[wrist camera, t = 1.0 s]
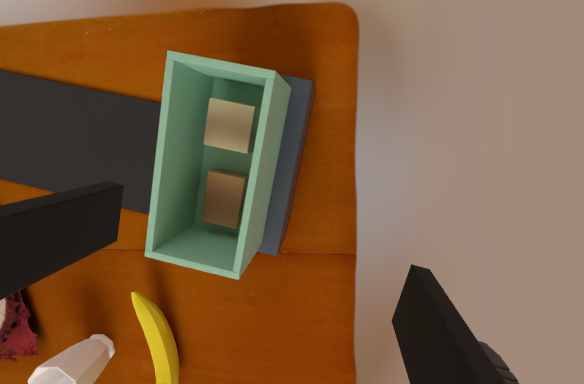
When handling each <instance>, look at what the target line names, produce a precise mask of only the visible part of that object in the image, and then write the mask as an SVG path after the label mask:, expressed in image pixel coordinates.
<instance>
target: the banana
mask: <svg viewBox="0 0 584 384" xmlns="http://www.w3.org/2000/svg"><path fill="white" fill-rule="evenodd" d="M131 294H132V302H133V305H134V308H135V311H136V314H137V316H138V319H139V321H140V324H141V326H142V328H143V331H144V334H145V336H146V339H147V342H148V345H149V348H150V352H151V355H152V359H153V363H154V368H155V374H156V384H178V380H179V357H178V351H177V346H176V343H175V339H174V336H173V333H172V331H171V328H170V326H169V324H168V322H167V320H166V318H165V317H164V315H163V313H162V312H161V310H160V309H159V308H158V307H157V306H156V305H155V304H154V303H153V302H152V301H150V300H149V299H148V298H147V297H145V296H144V295H142V294H141V293H139V292H136V291H132V292H131Z"/></svg>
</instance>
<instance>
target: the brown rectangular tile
mask: <svg viewBox="0 0 584 384" xmlns="http://www.w3.org/2000/svg"><path fill="white" fill-rule="evenodd" d="M248 180H249V175H246V174H242V173H237V172H233V171H228V170H224V169H219V168H217V169H213V170H210V171H208V177H207V184H206V190H205V197H204V204H203V211H202V218H201V221H203V222H208V223H212V224H216V225H220V226H225V227H229V228H233V229H237V228H238V227H239V226H240V225H241V220H242V214H243V209H244V203H245V197H246V191H247V186H248Z"/></svg>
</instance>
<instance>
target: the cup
mask: <svg viewBox="0 0 584 384" xmlns="http://www.w3.org/2000/svg"><path fill="white" fill-rule="evenodd" d="M114 353H115V349H114V344H113V341H112V340H110V339H109V338H108V337H107V336H105V335H104V334H93V335H92V336H91V337H90V338H89V339H86V340H83V341H81V342H79V343H77V344H75V345H73V346H71V347H69V348H68V349H66V350H65V351H63V352H61V353H60V354H58V355H56V356H55V357H53V358H51V359H50V360H48V361H46V362H45V363H43V364H41V365H40V366H38V367H37V368H36V370H35V371H34V372H33V374H32V375H31V377H30V378H29V379H28V384H93V383H94V382H95V380H96V379H97V378H98V376H99V375H100V374H101V372H102V371H103V370H104V368H105V366H106V364H107V363H108V361H109V359H110V358H111V357H112V356H113V354H114Z"/></svg>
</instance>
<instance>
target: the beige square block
mask: <svg viewBox="0 0 584 384" xmlns="http://www.w3.org/2000/svg"><path fill="white" fill-rule="evenodd" d="M260 111H261V108H258V107H255V106H251V105H246V104H241V103H236V102H231V101H226V100H221V99H216V98H211V97H210V99H209V106H208V114H207V121H206V128H205V135H204V142H203V144H204V145H209V146H214V147H218V148H223V149H228V150H232V151H237V152H242V153H246V154H247V153H251V152H253V151H254V145H255V140H256V134H257V128H258V122H259V117H260Z"/></svg>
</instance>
